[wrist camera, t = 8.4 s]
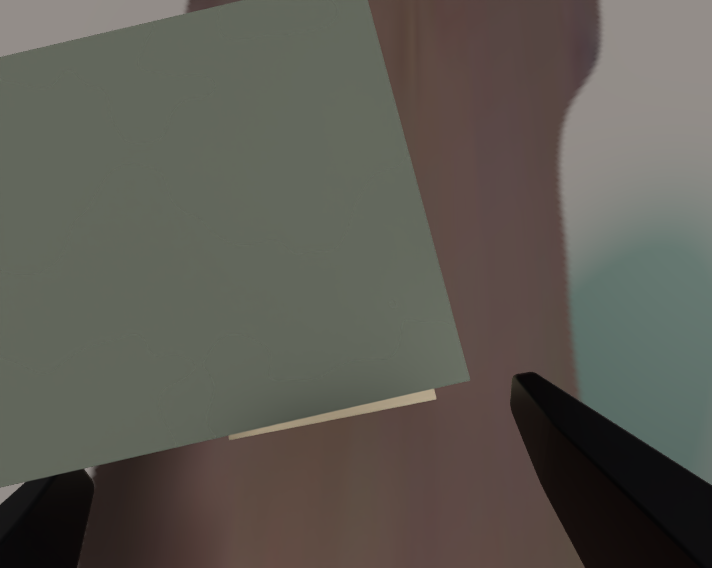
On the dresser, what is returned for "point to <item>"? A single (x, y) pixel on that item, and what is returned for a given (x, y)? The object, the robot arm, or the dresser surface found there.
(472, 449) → the dresser surface
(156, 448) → the green lidded box
